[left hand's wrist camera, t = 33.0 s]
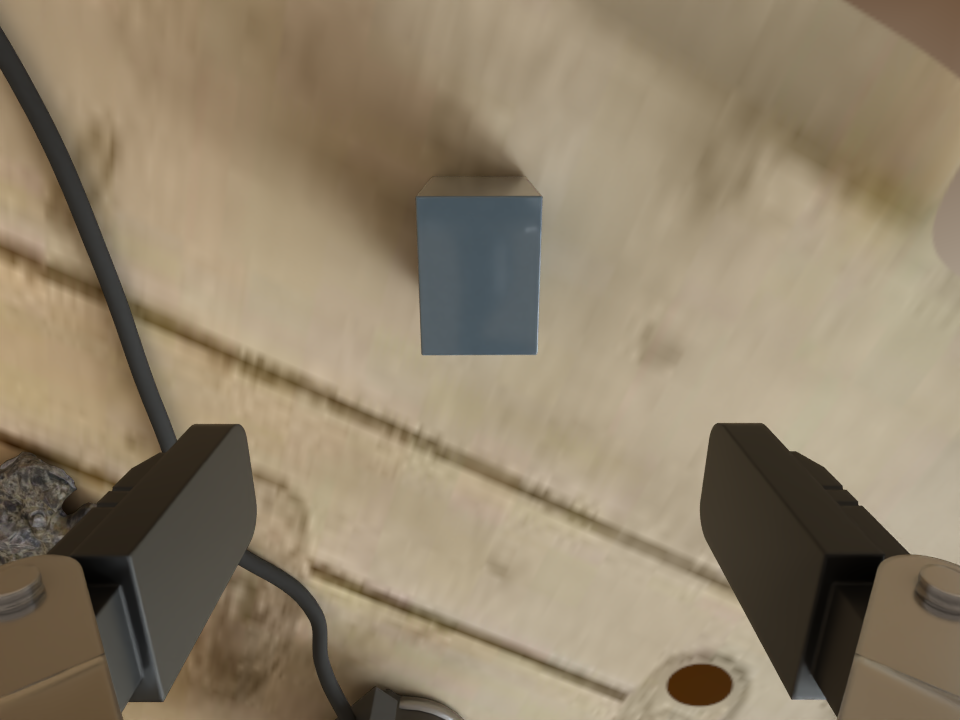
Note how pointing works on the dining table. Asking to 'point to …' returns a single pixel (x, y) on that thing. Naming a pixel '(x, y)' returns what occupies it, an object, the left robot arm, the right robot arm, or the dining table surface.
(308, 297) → the dining table surface
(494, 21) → the dining table surface
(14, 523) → the stone slab
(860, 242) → the dining table surface
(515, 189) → the block
